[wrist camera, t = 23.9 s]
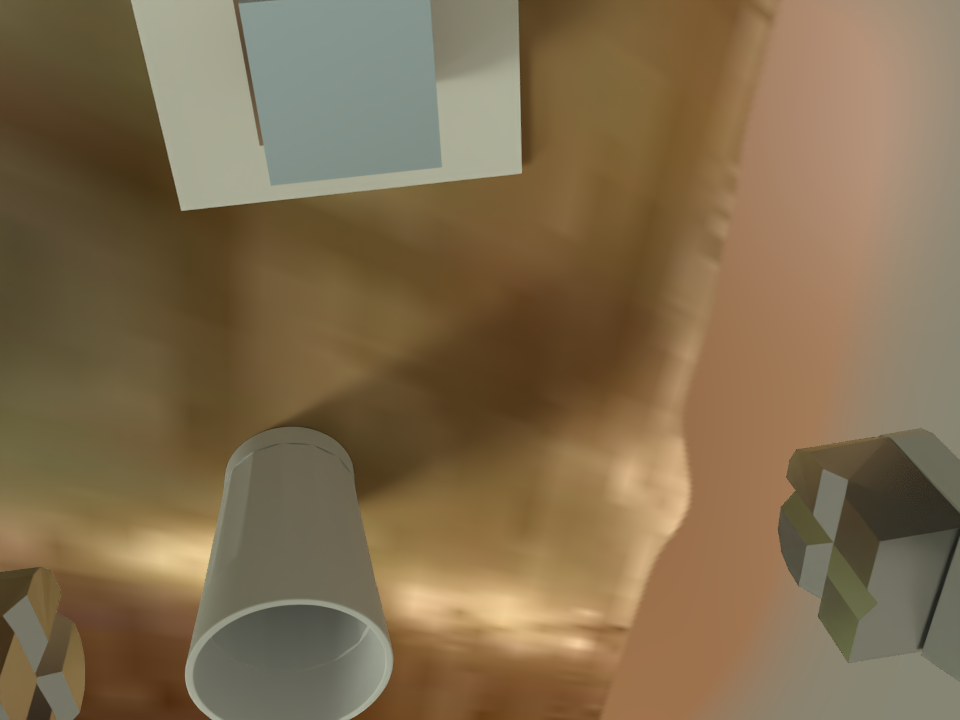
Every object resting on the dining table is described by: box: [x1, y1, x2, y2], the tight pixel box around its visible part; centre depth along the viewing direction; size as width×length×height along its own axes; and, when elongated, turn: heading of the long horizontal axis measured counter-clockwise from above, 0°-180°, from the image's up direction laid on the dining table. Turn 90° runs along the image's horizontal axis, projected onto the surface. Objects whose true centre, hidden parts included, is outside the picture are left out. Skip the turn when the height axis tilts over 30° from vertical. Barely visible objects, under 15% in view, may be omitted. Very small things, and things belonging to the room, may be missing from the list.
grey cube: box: [238, 0, 442, 186], centre depth 27 cm, size 5×5×5 cm
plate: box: [131, 0, 522, 211], centre depth 34 cm, size 14×14×1 cm
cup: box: [185, 427, 393, 720], centre depth 41 cm, size 8×8×12 cm
